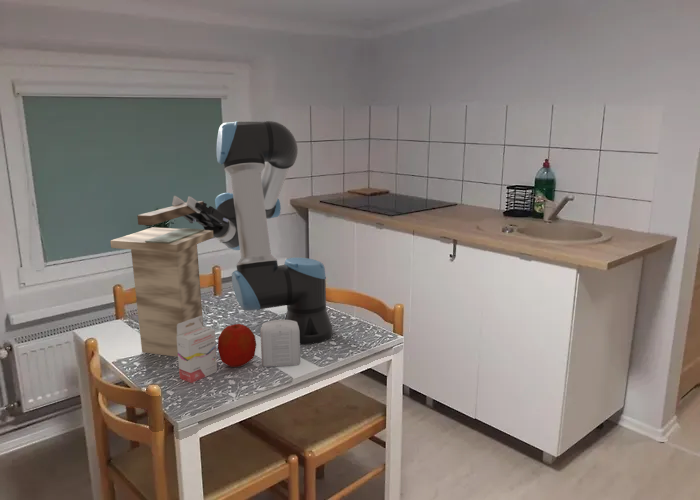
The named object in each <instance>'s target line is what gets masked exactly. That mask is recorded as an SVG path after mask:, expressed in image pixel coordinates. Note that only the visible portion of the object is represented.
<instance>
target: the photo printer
mask: <svg viewBox="0 0 700 500" xmlns="http://www.w3.org/2000/svg"><path fill="white" fill-rule="evenodd" d="M260 352H261V354H260V355H261V366H262V367H284V366H289V367H290V366H297V365H298V366H299V365H300V363H301V344H300V331H299V326H298V324H297V322H296V321H292V320H285V319H272V320H269V321H265V322H263V323H262V326H261V328H260Z"/></svg>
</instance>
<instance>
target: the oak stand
mask: <svg viewBox="0 0 700 500" xmlns="http://www.w3.org/2000/svg"><path fill="white" fill-rule="evenodd" d="M213 238H214V237H213V231H210V230H204V228H189V227H187V228H186V227H182V228H170V227H155V226H154V227H153V226H152V227H150V228H149V227H148V228H146V229H143V230H140V231H137V232H134V233H131V234H127V235H124V236H121V237H116V238H114V239H111V240H110V248H111V249H122V250H130V251H131V261H132V270H133V271H132V272H133V280H134V281H133V282H134V289H135V291H134V292H135V298H136V299H135V300H136V307H137V318H138V326H139V337H140V345H141V353H145V354H155V355H162V356H169V357H175V356H176V357H177V358H178V350H177V337H176V336H177V324H179V323H182V322H184V321H187V320H190V319H193V318H196V317H199V316H202V317H204V316H203V305H202V294H201V293H202V291H201V281H200V280H201V279H200V269H199V268H200V266H199V255H198V245H199V244H201V243H203V242H206V241H209V240H210V239H213ZM214 239H215V238H214ZM192 325H194V323H189V324H188V325H186V327H189V326H192Z"/></svg>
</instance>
